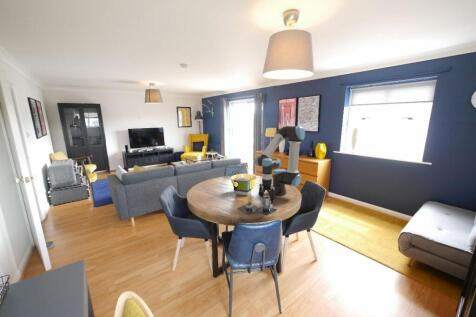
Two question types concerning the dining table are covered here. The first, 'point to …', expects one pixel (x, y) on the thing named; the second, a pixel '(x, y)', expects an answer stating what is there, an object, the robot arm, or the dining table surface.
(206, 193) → the dining table surface
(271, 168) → the robot arm
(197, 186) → the dining table surface
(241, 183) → the tea box
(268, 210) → the stand
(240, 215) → the dining table surface
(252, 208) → the hub
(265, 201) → the ring
